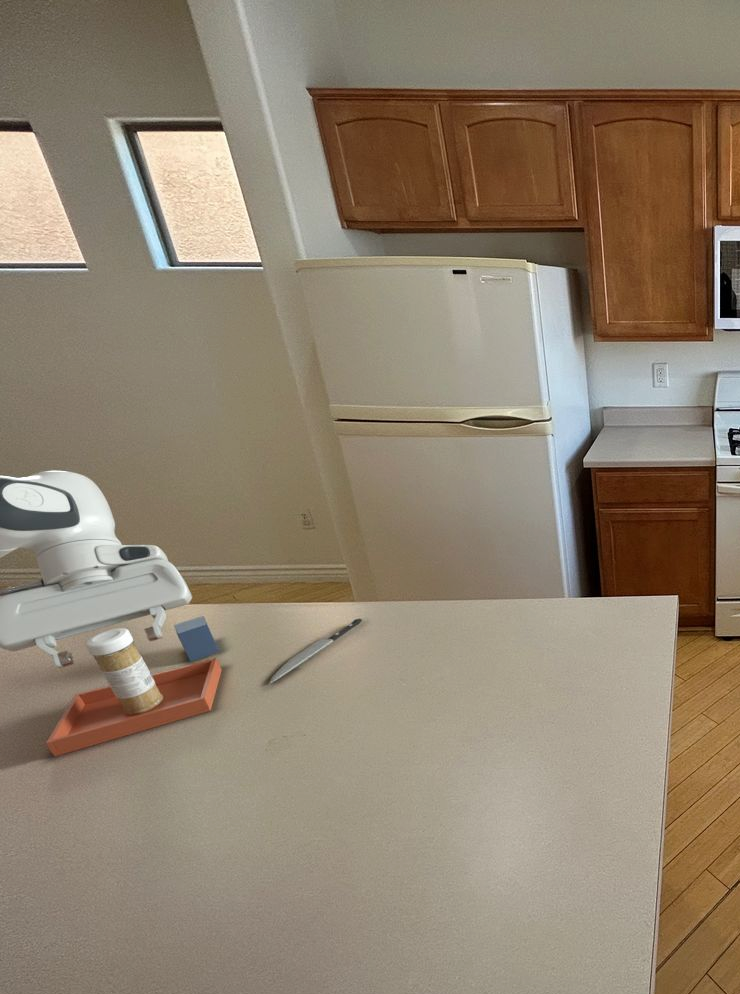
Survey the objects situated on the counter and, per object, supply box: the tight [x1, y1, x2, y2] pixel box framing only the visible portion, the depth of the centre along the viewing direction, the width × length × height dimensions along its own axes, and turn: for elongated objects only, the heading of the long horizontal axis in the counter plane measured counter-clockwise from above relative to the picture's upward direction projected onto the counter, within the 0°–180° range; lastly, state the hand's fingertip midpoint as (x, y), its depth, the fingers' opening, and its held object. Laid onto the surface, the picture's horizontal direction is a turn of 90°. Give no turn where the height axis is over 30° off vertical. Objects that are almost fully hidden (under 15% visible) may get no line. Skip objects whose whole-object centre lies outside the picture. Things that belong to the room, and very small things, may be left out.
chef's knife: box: [268, 618, 363, 685], centre depth 101 cm, size 19×1×3 cm
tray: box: [45, 657, 223, 757], centre depth 87 cm, size 17×12×3 cm
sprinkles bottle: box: [84, 627, 163, 715], centre depth 84 cm, size 5×5×14 cm
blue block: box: [173, 615, 220, 663], centre depth 99 cm, size 4×4×6 cm
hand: (112, 651), depth 82 cm, fingers open, 8 cm apart
